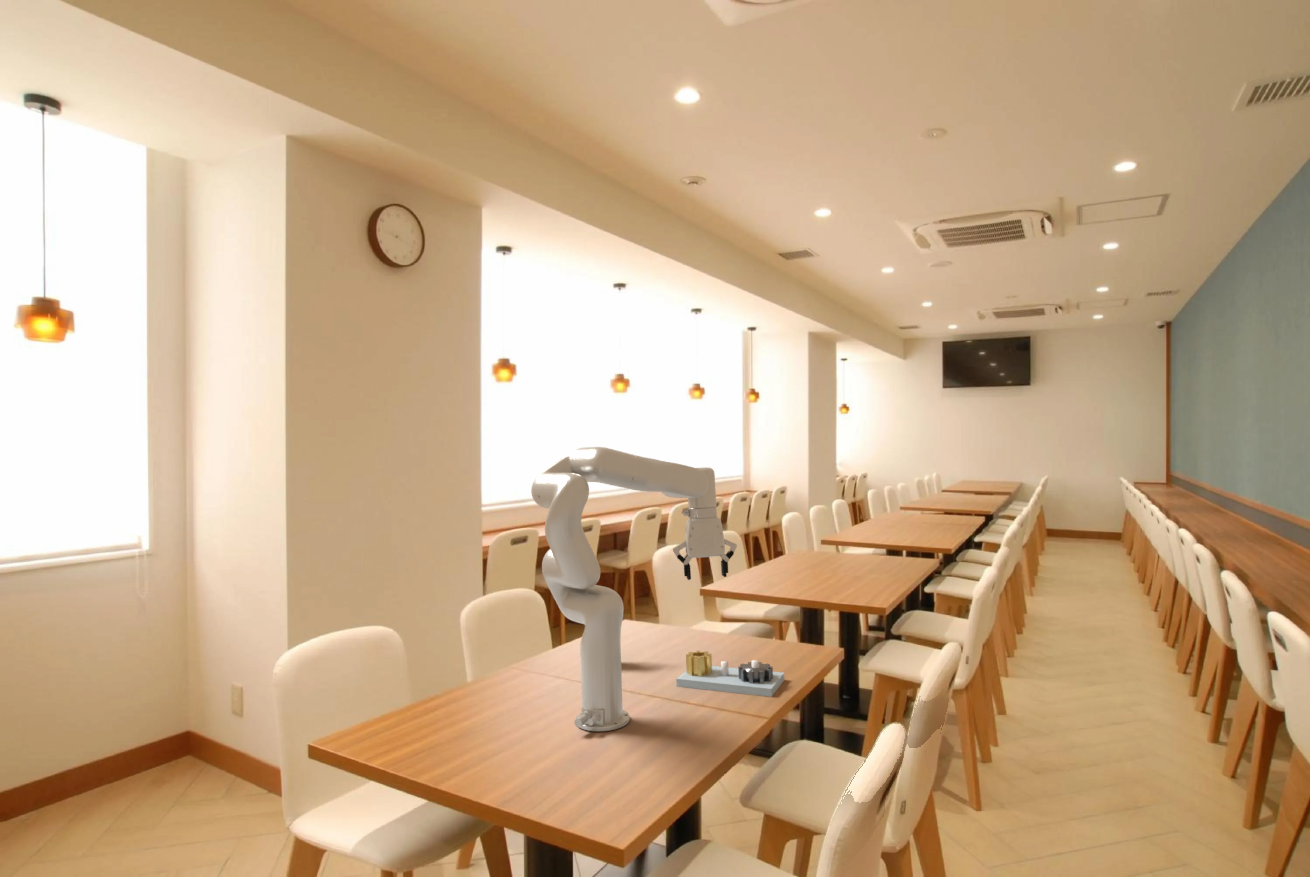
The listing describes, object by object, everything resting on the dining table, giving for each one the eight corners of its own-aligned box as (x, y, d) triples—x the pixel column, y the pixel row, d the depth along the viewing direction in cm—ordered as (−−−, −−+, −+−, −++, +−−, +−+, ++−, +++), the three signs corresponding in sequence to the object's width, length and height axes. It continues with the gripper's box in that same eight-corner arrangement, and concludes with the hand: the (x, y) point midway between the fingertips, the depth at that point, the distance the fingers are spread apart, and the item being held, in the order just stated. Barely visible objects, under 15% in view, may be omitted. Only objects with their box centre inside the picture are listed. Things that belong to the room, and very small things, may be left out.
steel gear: (767, 685, 182) (767, 673, 182) (734, 681, 186) (734, 670, 186) (776, 674, 190) (775, 663, 190) (744, 671, 194) (744, 660, 194)
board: (771, 696, 179) (770, 671, 179) (676, 686, 190) (675, 661, 190) (784, 680, 192) (783, 655, 192) (694, 671, 202) (694, 648, 203)
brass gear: (706, 677, 190) (706, 658, 190) (683, 675, 193) (682, 656, 193) (715, 670, 196) (714, 651, 196) (692, 667, 199) (691, 649, 199)
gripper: (672, 517, 185) (676, 582, 185) (737, 512, 187) (741, 577, 187) (669, 514, 192) (672, 577, 192) (731, 510, 194) (735, 572, 194)
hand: (706, 577), depth 189 cm, fingers open, 9 cm apart
